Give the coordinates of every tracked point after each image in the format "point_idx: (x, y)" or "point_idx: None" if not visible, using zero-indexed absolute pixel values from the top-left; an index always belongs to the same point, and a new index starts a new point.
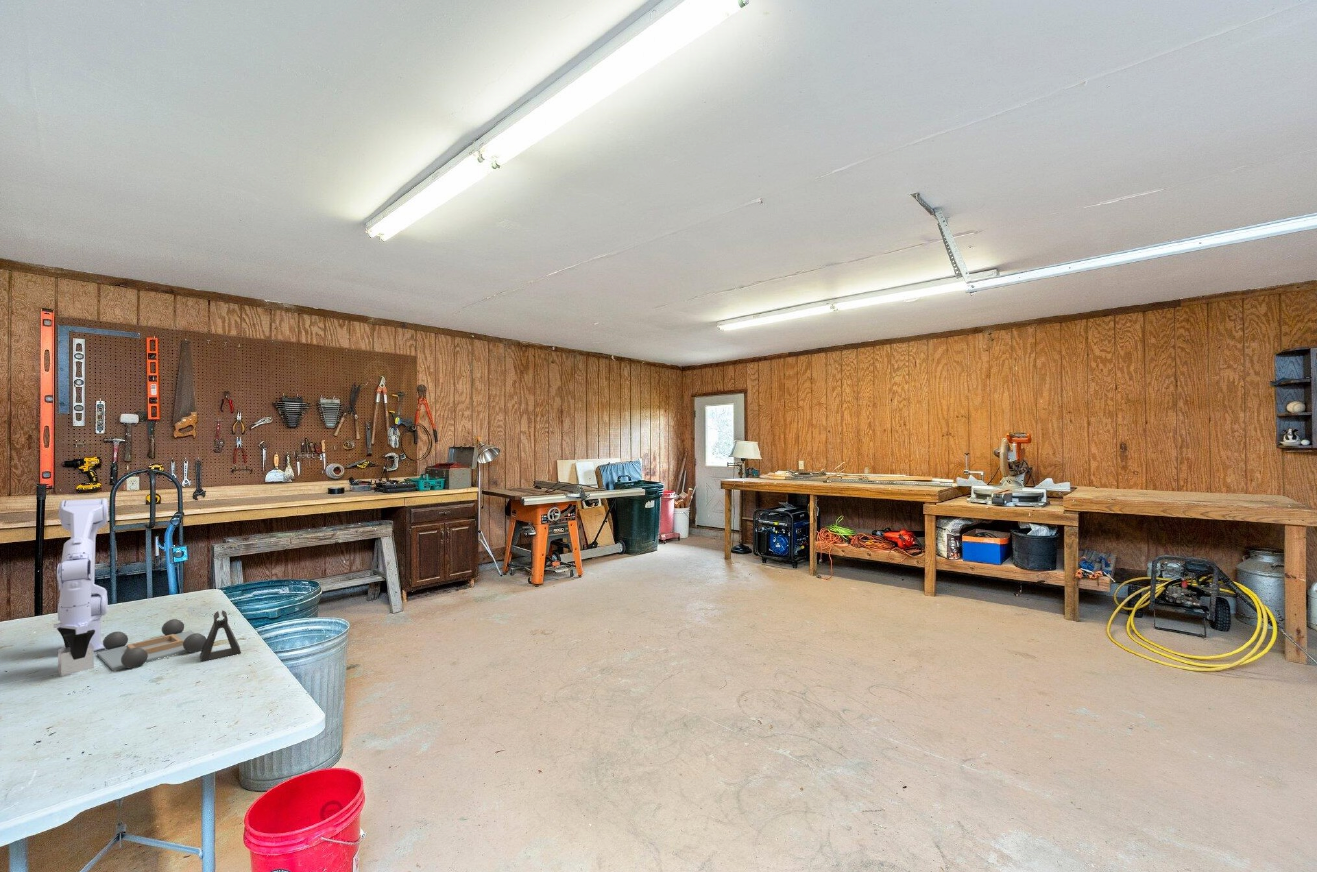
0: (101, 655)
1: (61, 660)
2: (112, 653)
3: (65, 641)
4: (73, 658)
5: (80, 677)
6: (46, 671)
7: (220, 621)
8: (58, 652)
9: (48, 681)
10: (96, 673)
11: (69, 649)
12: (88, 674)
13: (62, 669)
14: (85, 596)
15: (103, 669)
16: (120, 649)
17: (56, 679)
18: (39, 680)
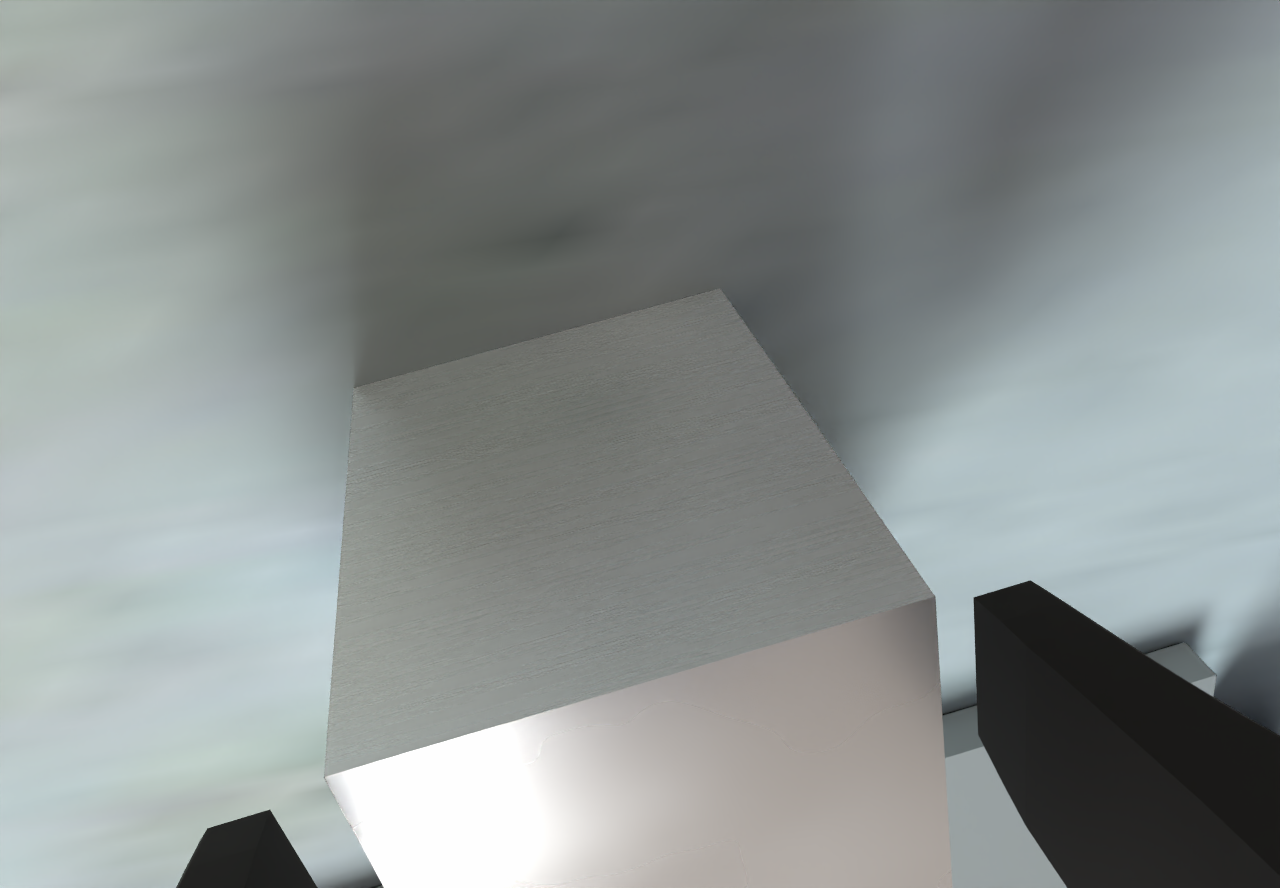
0: (983, 753)
1: (337, 617)
2: (952, 846)
3: (1221, 835)
4: (190, 861)
5: (49, 671)
6: (941, 83)
7: None
8: (810, 579)
9: (123, 225)
10: (147, 816)
11: (694, 837)
12: (165, 736)
13: (359, 478)
14: None
15: (317, 848)
16: (1060, 883)
17: (180, 343)
18: (335, 40)
